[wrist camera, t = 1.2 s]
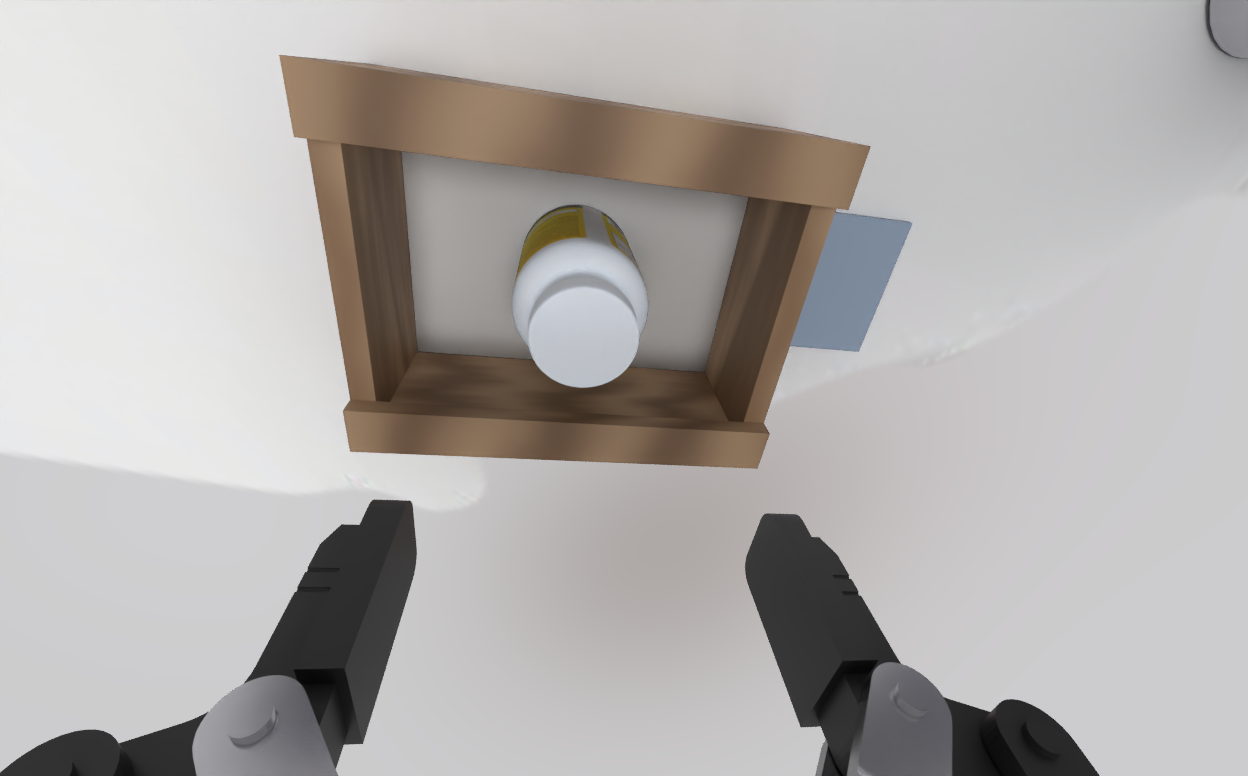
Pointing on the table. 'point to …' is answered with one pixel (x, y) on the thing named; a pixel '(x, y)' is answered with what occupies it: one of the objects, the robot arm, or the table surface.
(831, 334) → the pad
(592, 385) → the pill bottle
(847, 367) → the table surface
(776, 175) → the crate
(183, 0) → the table surface
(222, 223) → the table surface
